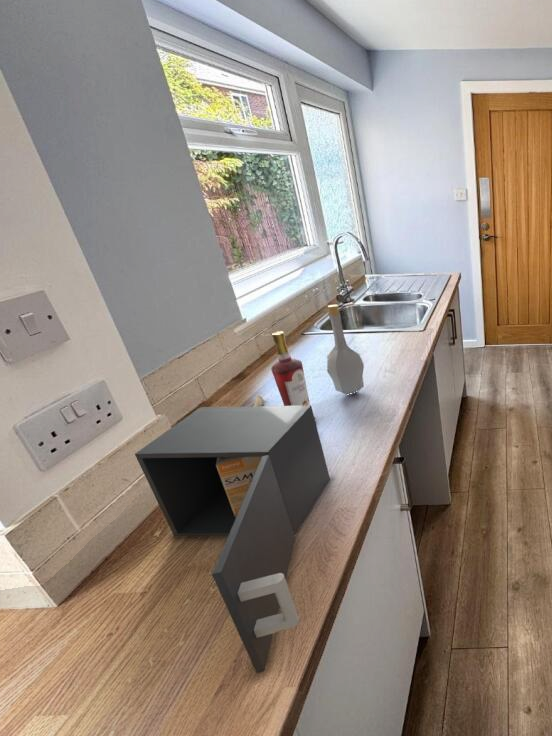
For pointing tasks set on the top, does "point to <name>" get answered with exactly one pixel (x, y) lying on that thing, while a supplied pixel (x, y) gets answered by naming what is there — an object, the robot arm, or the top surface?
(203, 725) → the top surface
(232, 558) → the cabinet door
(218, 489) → the cabinet
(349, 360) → the bottle
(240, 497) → the supplement box
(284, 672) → the top surface
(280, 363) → the liquor
